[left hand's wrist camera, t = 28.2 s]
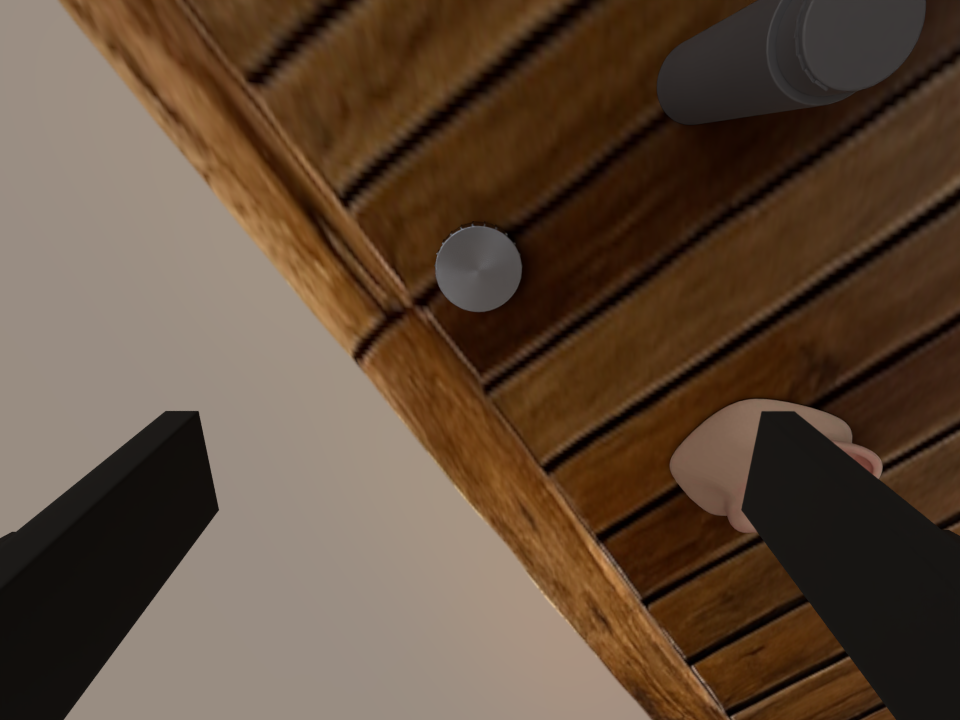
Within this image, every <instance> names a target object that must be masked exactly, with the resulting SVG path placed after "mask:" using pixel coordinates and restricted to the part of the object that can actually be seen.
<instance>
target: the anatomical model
mask: <svg viewBox="0 0 960 720" xmlns="http://www.w3.org/2000/svg"><path fill="white" fill-rule="evenodd" d="M761 411H795V412H796V413H797V414H799V415H800V416H801V417H802V418H804V419H805V420H806V421H807V422H808V423H810V424H811V425H812V426H813V427H815V428H816V429H817V430H818V431H820V432H821V433H822V434H823V435H825V436H826V437H827V438H828V439H830V440H831V441H832V442H833V443H834V444H836V445H837V446H838V447H839V448H841V449H842V450H843V451H844V452H846V453H847V454H848V455H849V456H851V457H852V458H853V459H854V460H856V461H857V462H858V463H859V464H860V465H862V466H863V467H864V468H865V469H867V470H868V471H869V472H870V473H872V474H873V475H874V476H875V477H877V478H878V479H879V477H880V475H881V472H882V462H881V460H880V458H879V457H878V456H877V455H876V454H875V453H874V452H872V451H871V450H869V449H867V448H864V447H862V446H859V445H856V444H852V433H851V429H850V427H849V426H848V425H847V424H846V423H845V422H844V421H843V420H841V419H840V418H837V417H835V416H833V415H831V414H829V413H826V412H823V411H820V410H817V409H813V408H810V407H806V406H802V405H798V404H793V403H789V402H783V401H777V400H769V399H749V400H743V401H739V402H736V403H734V404H731V405H729V406H727V407H725V408H723V409H721V410H720V411H718V412H717V413H715V414H714V415H712V416H711V417H710V418H708V419H707V420H706V421H704V422H703V423H702V424H701V425H700V426H699V427H697V428H696V429H695V430H694V431H693V432H692V433H691V434H690V435H689V436H688V437H687V438H686V439H685V440H684V441H683V442H682V444H681V445H680V446H679V447H678V448H677V450H676V451H675V452H674V454H673V456H672V458H671V461H670V470H671V473H672V475H673V477H674V478H675V480H676V482H677V483H678V484H679V485H680V487H681V488H682V489H683V490H684V491H685V493H686V494H687V495H688V496H689V497H690V498H691V499H692V500H693V501H694V502H695V503H696V504H698V505H699V506H700V507H701V508H703V509H704V510H705V511H707V512H709V513H711V514H714V515H721V516H728V519H729V522H730V523H731V525H732V526H733V527H734V528H735V529H736V530H738V531H740V532H744V533H753V532H757V531H756V529H755V528H754V527H753V525H752V524H751V523H750V521H749V520H748V519H747V517H746V516H745V515H744V513H743V512H742V511H741V508H742V503H743V498H744V493H745V489H746V484H747V479H748V474H749V469H750V464H751V460H752V455H753V450H754V445H755V440H756V435H757V430H758V426H759V421H760V416H761Z"/></svg>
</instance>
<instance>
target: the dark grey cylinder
mask: <svg viewBox="0 0 960 720" xmlns="http://www.w3.org/2000/svg"><path fill="white" fill-rule="evenodd" d="M925 13H926V0H758V1H756V2H754V3H752V4H751V5H749V6H747V7H745V8H744V9H742V10H740V11H738V12H736V13H735V14H733V15H731V16H729V17H728V18H726V19H724V20H722V21H720V22H719V23H717V24H715V25H713V26H712V27H710V28H708V29H706V30H705V31H703V32H701V33H699V34H697V35H696V36H694V37H692V38H690V39H689V40H687V41H685V42H683V43H682V44H680V45H679V46H677V47H676V48H675V49H674V50H673V51H672V52H671V53H670V54H669V55H668V56H667V58H666V59H665V61H664V63H663V65H662V67H661V69H660V72H659V76H658V81H657V94H658V99H659V102H660V105H661V107H662V108H663V110H664V112H665V113H666V114H667V115H668V116H669V117H670V118H671V119H673V120H674V121H676V122H678V123H681V124H686V125H696V124H703V123H710V122H716V121H723V120H730V119H736V118H743V117H749V116H756V115H763V114H769V113H776V112H782V111H789V110H796V109H802V108H809V107H816V106H822V105H828V104H832V103H835V102H838V101H840V100H843V99H845V98H847V97H849V96H850V95H852V94H853V93H855V92H856V91H859V90H863V89H866V88H869V87H871V86H874V85H876V84H878V83H880V82H881V81H883V80H884V79H886V78H887V77H889V76H890V75H891V74H892V73H893V72H895V71H896V70H897V69H898V68H899V67H900V66H901V65H902V64H903V62H904V61H905V60H906V59H907V57H908V56H909V55H910V53H911V51H912V50H913V48H914V47H915V45H916V43H917V41H918V38H919V36H920V33H921V31H922V27H923V24H924V19H925Z"/></svg>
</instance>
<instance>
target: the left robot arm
mask: <svg viewBox="0 0 960 720" xmlns="http://www.w3.org/2000/svg"><path fill="white" fill-rule="evenodd" d="M218 511H219V508H218V503H217V498H216V493H215V489H214V484H213V479H212V474H211V469H210V464H209V460H208V455H207V450H206V445H205V440H204V435H203V430H202V426H201V421H200V416H199V412H198V411H165V412H164V413H163V414H161V415H160V416H159V417H158V418H156V419H155V420H154V421H153V422H152V423H150V424H149V425H148V426H147V427H145V428H144V429H143V430H142V431H140V432H139V433H138V434H137V435H135V436H134V437H133V438H132V439H130V440H129V441H128V442H127V443H126V444H124V445H123V446H122V447H121V448H119V449H118V450H117V451H116V452H114V453H113V454H112V455H111V456H109V457H108V458H107V459H106V460H105V461H103V462H102V463H101V464H100V465H98V466H97V467H96V468H95V469H93V470H92V471H91V472H90V473H88V474H87V475H86V476H85V477H83V478H82V479H81V480H80V481H79V482H77V483H76V484H75V485H74V486H72V487H71V488H70V489H69V490H67V491H66V492H65V493H64V494H62V495H61V496H60V497H59V498H57V499H56V500H55V501H54V502H52V503H51V504H50V505H49V506H48V507H46V508H45V509H44V510H43V511H41V512H40V513H39V514H38V515H36V516H35V517H34V518H33V519H31V520H30V521H29V522H28V523H26V524H25V525H24V526H23V527H22V528H20V529H19V530H18V531H17V532H11V533H9V534H7V535H5V536H3V537H2V538H0V720H64V719H65V717H66V716H67V714H68V713H69V712H70V710H71V709H72V708H73V706H74V705H75V704H76V702H77V701H78V700H79V698H80V697H81V696H82V694H83V693H84V692H85V690H86V689H87V688H88V686H89V685H90V683H91V682H92V681H93V679H94V678H95V677H96V675H97V674H98V673H99V671H100V670H101V669H102V667H103V666H104V665H105V663H106V662H107V660H108V659H109V658H110V656H111V655H112V654H113V652H114V651H115V650H116V648H117V647H118V646H119V644H120V643H121V642H122V640H123V639H124V637H125V636H126V635H127V633H128V632H129V631H130V629H131V628H132V627H133V625H134V624H135V623H136V621H137V620H138V619H139V617H140V616H141V615H142V613H143V612H144V611H145V609H146V608H147V606H148V605H149V604H150V602H151V601H152V600H153V598H154V597H155V596H156V594H157V593H158V592H159V590H160V589H161V588H162V586H163V585H164V583H165V582H166V581H167V579H168V578H169V577H170V575H171V574H172V573H173V571H174V570H175V569H176V567H177V566H178V565H179V563H180V562H181V561H182V559H183V558H184V556H185V555H186V554H187V552H188V551H189V550H190V548H191V547H192V546H193V544H194V543H195V542H196V540H197V539H198V538H199V536H200V535H201V534H202V532H203V531H204V529H205V528H206V527H207V525H208V524H209V523H210V521H211V520H212V519H213V517H214V516H215V515H216V513H217V512H218ZM741 511H742V512H743V513H744V515H745V516H746V517H747V519H748V520H749V521H750V523H751V524H752V525H753V527H754V528H755V529H756V531H757V532H758V534H759V535H760V536H761V538H762V539H763V540H764V542H765V543H766V544H767V546H768V547H769V548H770V550H771V551H772V552H773V554H774V555H775V556H776V558H777V559H778V561H779V562H780V563H781V565H782V566H783V567H784V569H785V570H786V571H787V573H788V574H789V575H790V577H791V578H792V579H793V581H794V582H795V583H796V585H797V586H798V588H799V589H800V590H801V592H802V593H803V594H804V596H805V597H806V598H807V600H808V601H809V602H810V604H811V605H812V606H813V608H814V609H815V611H816V612H817V613H818V615H819V616H820V617H821V619H822V620H823V621H824V623H825V624H826V625H827V627H828V628H829V629H830V631H831V632H832V633H833V635H834V636H835V638H836V639H837V640H838V642H839V643H840V644H841V646H842V647H843V648H844V650H845V651H846V652H847V654H848V655H849V656H850V658H851V659H852V660H853V662H854V663H855V665H856V666H857V667H858V669H859V670H860V671H861V673H862V674H863V675H864V677H865V678H866V679H867V681H868V682H869V683H870V685H871V686H872V688H873V689H874V690H875V692H876V693H877V694H878V696H879V697H880V698H881V700H882V701H883V702H884V704H885V705H886V706H887V708H888V709H889V710H890V712H891V713H892V715H893V716H894V717H895V719H896V720H960V536H959V535H957V534H955V533H953V532H951V531H950V530H941V529H940V528H938V527H937V526H936V525H935V524H934V523H932V522H931V521H930V520H929V519H927V518H926V517H925V516H924V515H922V514H921V513H920V512H919V511H917V510H916V509H915V508H914V507H912V506H911V505H910V504H909V503H908V502H906V501H905V500H904V499H903V498H901V497H900V496H899V495H898V494H896V493H895V492H894V491H893V490H891V489H890V488H889V487H888V486H886V485H885V484H884V483H883V482H882V481H880V480H879V479H878V478H877V477H875V476H874V475H873V474H872V473H870V472H869V471H868V470H867V469H865V468H864V467H863V466H862V465H860V464H859V463H858V462H857V461H856V460H854V459H853V458H852V457H851V456H849V455H848V454H847V453H846V452H844V451H843V450H842V449H841V448H839V447H838V446H837V445H836V444H834V443H833V442H832V441H831V440H830V439H828V438H827V437H826V436H825V435H823V434H822V433H821V432H820V431H818V430H817V429H816V428H815V427H813V426H812V425H811V424H810V423H808V422H807V421H806V420H805V419H804V418H802V417H801V416H800V415H799V414H797V413H796V412H795V411H761V416H760V421H759V426H758V430H757V435H756V440H755V445H754V450H753V455H752V460H751V464H750V469H749V474H748V479H747V484H746V489H745V493H744V498H743V503H742V508H741Z"/></svg>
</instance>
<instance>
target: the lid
mask: <svg viewBox="0 0 960 720" xmlns="http://www.w3.org/2000/svg"><path fill="white" fill-rule="evenodd" d="M437 255H438V256H437V259H436V263H435V271H436V278H437V282H438V285H439V287H440V289H441V291H442V292H443V294H444V295H445V296H446V298H447V299H448V300H449V301H451V302H452V303H453V304H455V305H456V306H458V307H460V308H462V309H465V310H468V311H473V312H484V311H489V310H493V309H495V308H498V307H500V306H501V305H503V304H504V303H505V302H507V301H508V300H509V299H510V298H511V297H512V296H513V294H514V293H515V291H516V289H517V288H518V285H519V283H520V279H521V274H522V267H523V265H522V263H521V258H520V255H521V254H520V252H519V250H517V248H516V245H515V241H514V239H513V240H512V239H511V237H510V236H509V235H508V234H507V232H506V231H503V230H502V229H500V228H499V227H497V225H492V224H489V223H485V222H484V223H483V222H474V221H473V222H472V223H468V224H465V225H461V226H460V227H458V228H457V229H455V230H454V231H451V233H450V234H449V235H448V237H447V238H446V239H444V240H443V242H442V246H441V248H440V250H438V252H437Z"/></svg>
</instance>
